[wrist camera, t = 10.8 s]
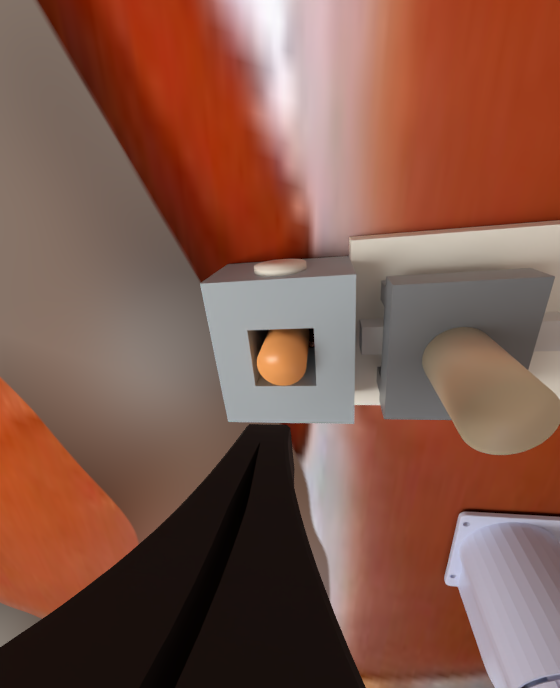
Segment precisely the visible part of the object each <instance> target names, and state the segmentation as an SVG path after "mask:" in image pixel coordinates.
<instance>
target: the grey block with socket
mask: <svg viewBox="0 0 560 688" xmlns="http://www.w3.org/2000/svg"><path fill="white" fill-rule="evenodd" d="M200 286H201V291H202V296H203V301H204V305H205V310H206V315H207V320H208V325H209V330H210V335H211V340H212V345H213V349H214V354H215V359H216V363H217V369H218V374H219V379H220V384H221V389H222V393H223V398H224V403H225V408H226V413H227V418H228V422H275V423H276V422H277V423H338V424H354V396H355V324H356V273H355V270H354V267H353V265H352V262H351V260H350V257H349V256H339V257H324V258H310V259H277V260H270V261H265V262H252V263H238V264H227V265H226V266H225V267H223V268H222V269H220V270H219V271H217V272H216V273H215V274H213V275H212V276H210V277H209V278H207V279H206V280H205V281H203V282H202V283H200ZM303 328H314V345H315V347H308V356H307V365H306V371H305V374H304V375H303V377H302V378H301V379H300V380H299V381H298V382H296V383H294V384H292V385H287V386H279V385H275V384H272V383H270V382H268V381H267V380H265V379H264V378H263V377H262V376H261V374H260V372H259V371H258V368H257V357H258V354H259V352H260V350H261V347H262V345H263V343H264V340H265V338H266V336H267V333H268V332H267V330H273V329H303Z"/></svg>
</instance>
